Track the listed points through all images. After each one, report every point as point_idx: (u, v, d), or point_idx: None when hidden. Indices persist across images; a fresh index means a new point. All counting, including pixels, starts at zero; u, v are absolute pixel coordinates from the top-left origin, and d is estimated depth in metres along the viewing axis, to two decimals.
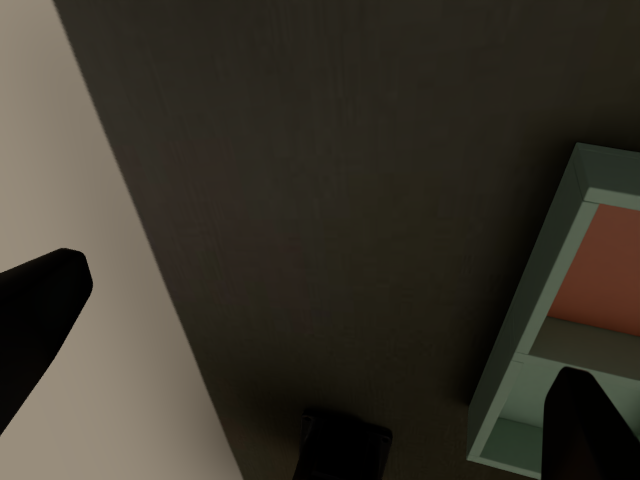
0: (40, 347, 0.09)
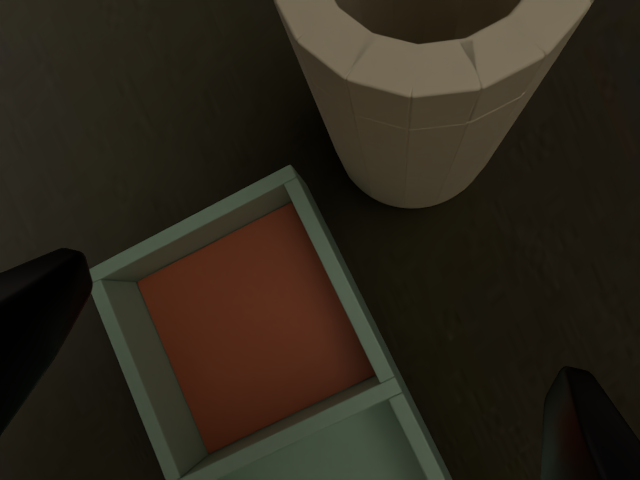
0: (40, 347, 0.09)
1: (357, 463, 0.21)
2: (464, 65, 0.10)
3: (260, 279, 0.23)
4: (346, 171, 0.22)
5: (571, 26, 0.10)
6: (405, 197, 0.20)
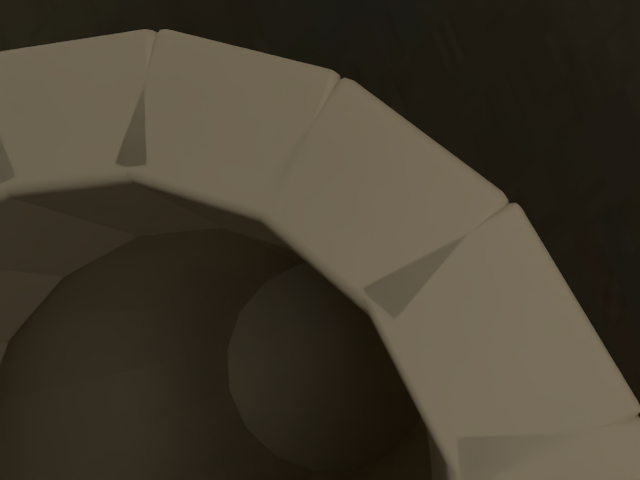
0: None
1: None
2: None
3: None
4: None
5: None
6: None
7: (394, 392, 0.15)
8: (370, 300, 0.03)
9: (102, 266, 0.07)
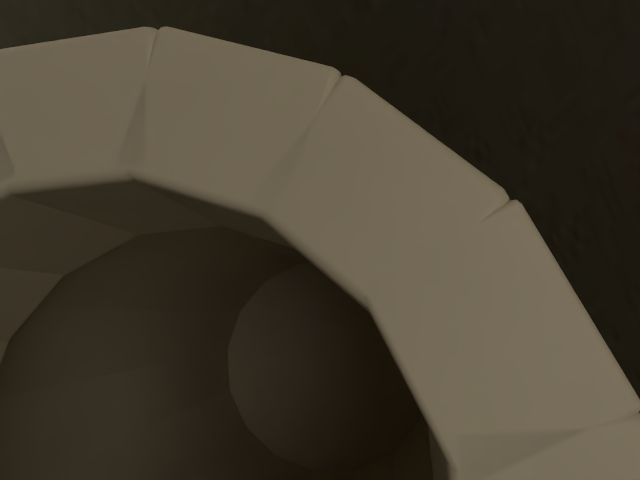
0: None
1: None
2: None
3: None
4: None
5: None
6: None
7: (394, 391, 0.15)
8: (371, 297, 0.03)
9: (102, 265, 0.07)
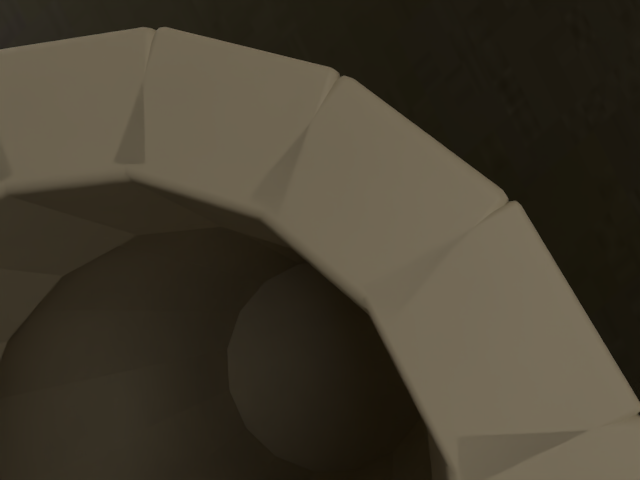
0: None
1: None
2: None
3: None
4: None
5: None
6: None
7: (394, 391, 0.15)
8: (370, 299, 0.03)
9: (101, 266, 0.07)
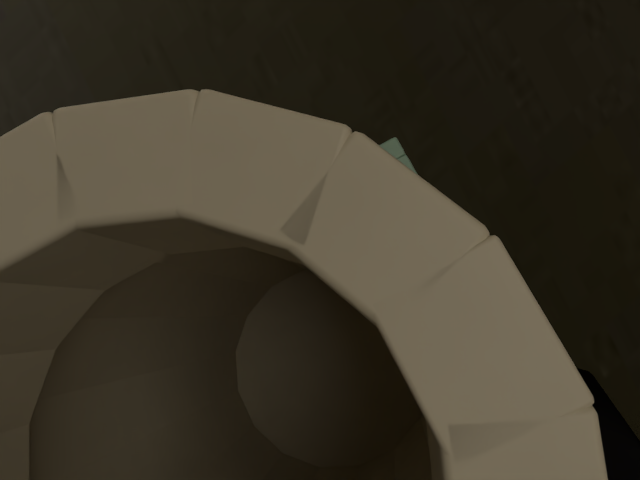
0: None
1: None
2: None
3: None
4: None
5: None
6: None
7: (395, 391, 0.16)
8: (378, 315, 0.04)
9: (129, 278, 0.08)
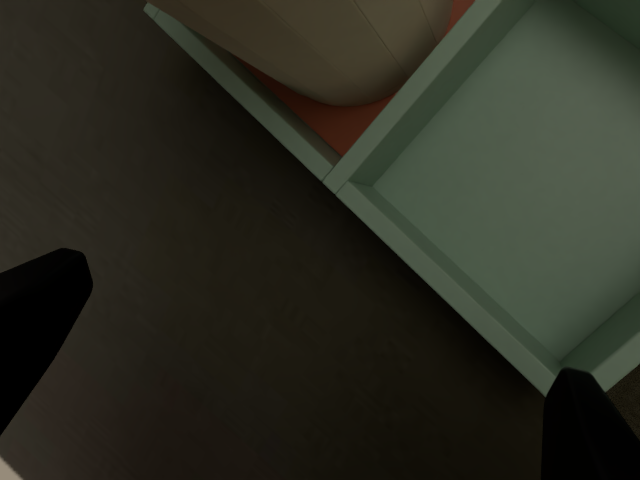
0: (40, 347, 0.09)
1: (545, 97, 0.16)
2: None
3: None
4: None
5: None
6: (355, 82, 0.15)
7: None
8: None
9: None
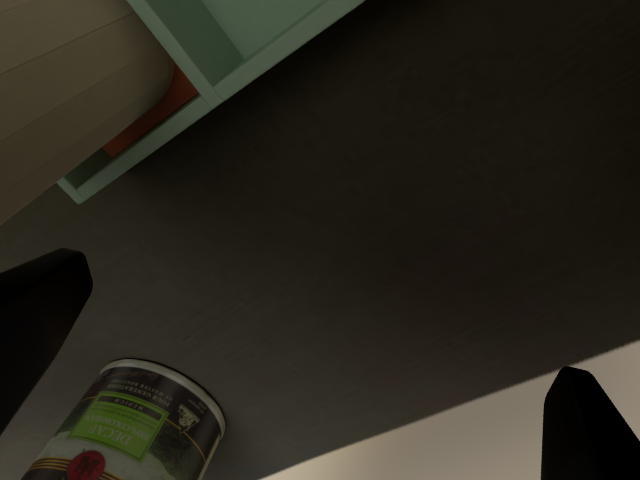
0: (40, 347, 0.09)
1: None
2: None
3: None
4: (149, 109, 0.21)
5: None
6: (135, 58, 0.18)
7: None
8: None
9: None
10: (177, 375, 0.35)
